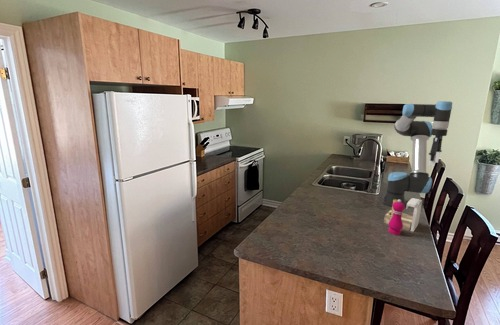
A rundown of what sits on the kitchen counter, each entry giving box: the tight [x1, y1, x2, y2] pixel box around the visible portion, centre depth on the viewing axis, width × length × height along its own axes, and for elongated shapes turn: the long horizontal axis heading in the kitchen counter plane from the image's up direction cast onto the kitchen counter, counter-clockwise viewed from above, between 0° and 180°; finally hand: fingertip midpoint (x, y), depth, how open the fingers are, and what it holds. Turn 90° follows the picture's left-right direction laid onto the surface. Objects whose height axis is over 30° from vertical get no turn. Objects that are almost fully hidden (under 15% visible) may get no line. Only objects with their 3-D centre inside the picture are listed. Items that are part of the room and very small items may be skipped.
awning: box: [405, 197, 423, 233], centre depth 159 cm, size 12×6×16 cm, turn 137°
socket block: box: [383, 209, 413, 231], centre depth 164 cm, size 12×14×5 cm
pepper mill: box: [387, 199, 406, 236], centre depth 151 cm, size 7×7×20 cm
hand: (433, 164), depth 161 cm, fingers open, 13 cm apart
